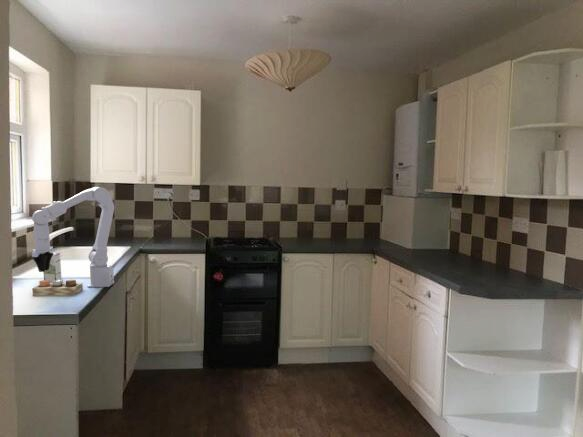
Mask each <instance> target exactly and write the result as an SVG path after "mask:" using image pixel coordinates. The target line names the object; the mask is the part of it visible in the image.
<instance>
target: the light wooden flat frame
mask: <svg viewBox="0 0 583 437" xmlns="http://www.w3.org/2000/svg"><path fill="white" fill-rule="evenodd" d="M83 285H84V284H83V282H76V286H75V287H66V282H63V286H62V287H53V283H50V286H49V287H40V286H39V284H38V285H36V286H34V287H33V288H32V290H31V291H32V296H75V295H77V294H78V293H79V291H80V292H81V291H83V288H84V286H83ZM76 293H77V294H76Z"/></svg>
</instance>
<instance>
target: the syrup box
mask: <svg viewBox="0 0 583 437" xmlns="http://www.w3.org/2000/svg"><path fill="white" fill-rule="evenodd" d="M52 252H53V256H52V258H51V261H50V265H49V270H45V272H42V273H43V280H50V283H52V281H54V280H63V279H62V264H61V252H60V251H52Z"/></svg>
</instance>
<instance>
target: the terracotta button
mask: <svg viewBox="0 0 583 437" xmlns="http://www.w3.org/2000/svg"><path fill="white" fill-rule="evenodd" d="M38 283H39V284H38V285H39V286H40V287H49V286H50V280H44V279H41V280H39V281H38Z"/></svg>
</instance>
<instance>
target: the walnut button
mask: <svg viewBox="0 0 583 437" xmlns="http://www.w3.org/2000/svg"><path fill="white" fill-rule="evenodd" d="M65 283H66V287H75V286H76V283H77V280H76V279H67V280H65Z"/></svg>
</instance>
